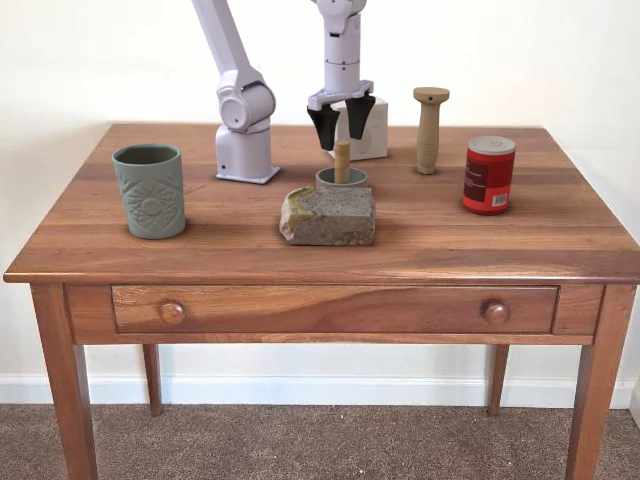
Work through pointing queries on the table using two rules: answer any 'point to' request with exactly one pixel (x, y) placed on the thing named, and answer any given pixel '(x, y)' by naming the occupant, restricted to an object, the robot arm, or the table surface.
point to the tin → (328, 180)
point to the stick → (342, 162)
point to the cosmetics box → (373, 133)
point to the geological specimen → (328, 216)
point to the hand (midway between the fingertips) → (341, 144)
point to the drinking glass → (151, 189)
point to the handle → (429, 126)
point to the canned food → (488, 174)
